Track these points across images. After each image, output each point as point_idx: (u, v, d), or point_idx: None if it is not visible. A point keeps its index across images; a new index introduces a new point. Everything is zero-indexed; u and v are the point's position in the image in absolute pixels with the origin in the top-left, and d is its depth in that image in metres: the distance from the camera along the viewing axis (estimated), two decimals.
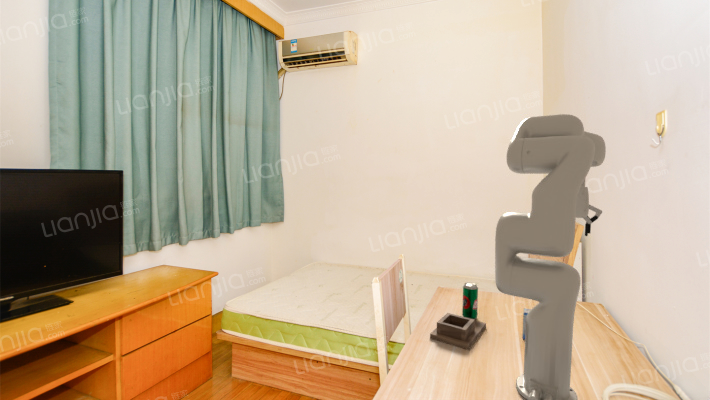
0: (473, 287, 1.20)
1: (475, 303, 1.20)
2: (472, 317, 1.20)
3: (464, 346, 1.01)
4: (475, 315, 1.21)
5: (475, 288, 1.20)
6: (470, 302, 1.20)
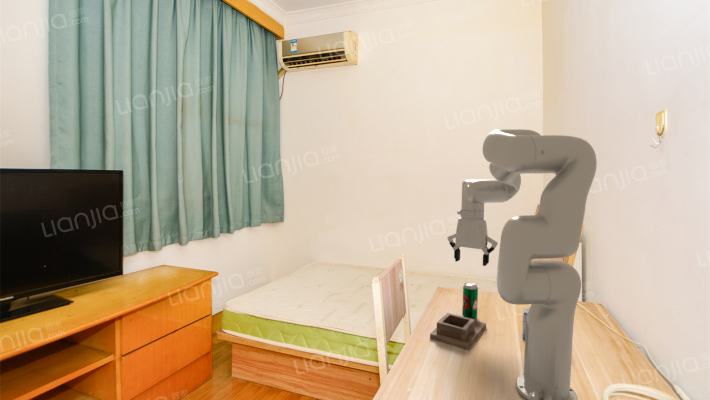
0: (473, 287, 1.20)
1: (475, 303, 1.20)
2: (472, 317, 1.20)
3: (464, 346, 1.01)
4: (475, 315, 1.21)
5: (475, 288, 1.20)
6: (470, 302, 1.20)
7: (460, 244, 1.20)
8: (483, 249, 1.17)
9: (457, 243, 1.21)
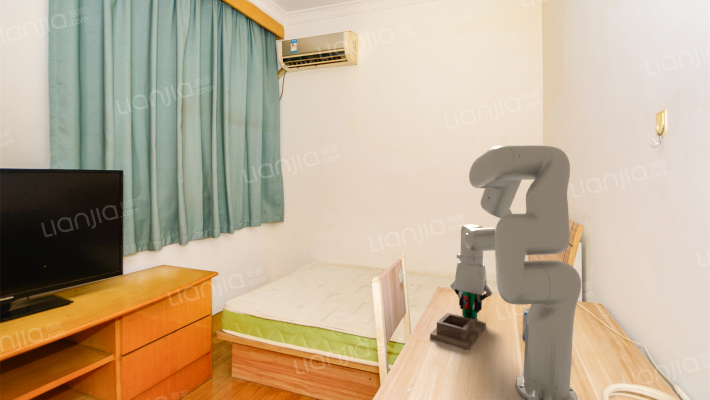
0: None
1: (475, 303, 1.20)
2: (472, 317, 1.20)
3: (464, 346, 1.01)
4: (475, 315, 1.21)
5: None
6: (470, 302, 1.20)
7: (459, 288, 1.22)
8: (477, 296, 1.19)
9: (456, 287, 1.22)
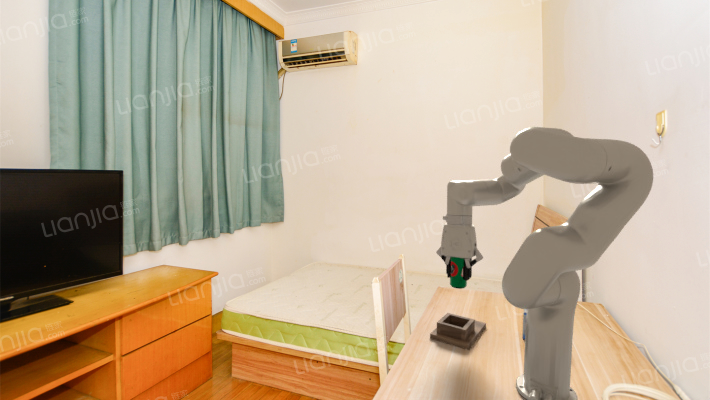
0: None
1: (464, 269, 1.05)
2: (461, 286, 1.05)
3: (464, 346, 1.01)
4: (464, 283, 1.06)
5: None
6: (458, 269, 1.05)
7: (446, 253, 1.07)
8: (466, 261, 1.04)
9: (443, 252, 1.07)
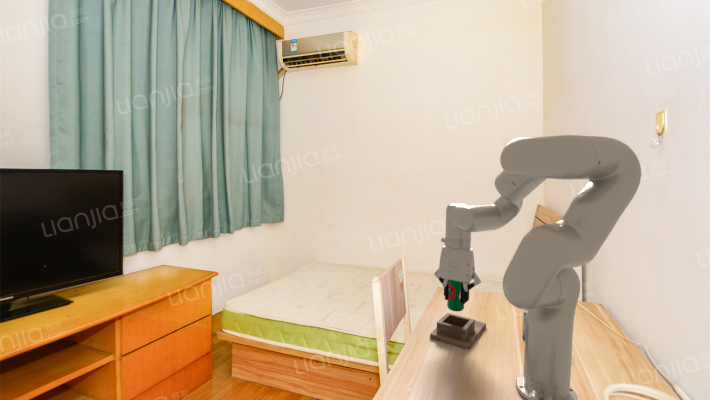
0: None
1: (461, 293, 1.05)
2: (458, 309, 1.06)
3: (464, 346, 1.01)
4: (461, 306, 1.06)
5: None
6: (456, 292, 1.05)
7: (444, 276, 1.07)
8: (464, 284, 1.04)
9: (441, 275, 1.07)
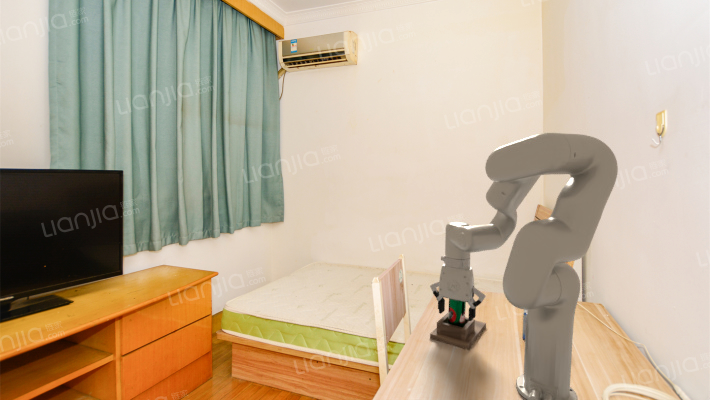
0: None
1: (462, 316, 1.06)
2: None
3: (464, 346, 1.01)
4: None
5: None
6: (457, 315, 1.06)
7: (444, 295, 1.07)
8: (469, 302, 1.04)
9: (440, 293, 1.08)
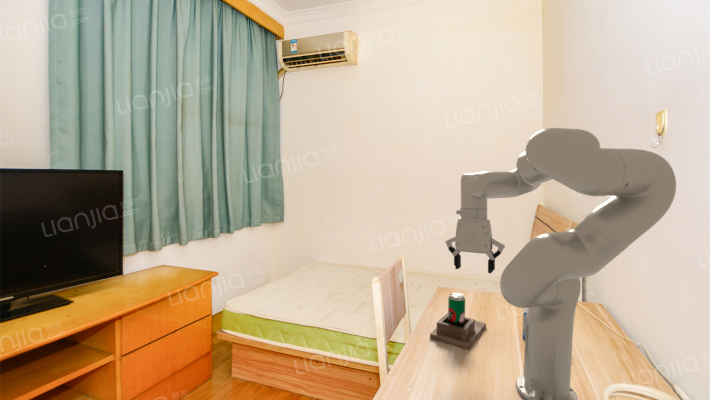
0: (459, 298, 1.05)
1: (462, 316, 1.06)
2: None
3: (464, 346, 1.01)
4: None
5: (462, 299, 1.05)
6: (456, 316, 1.06)
7: (461, 248, 1.03)
8: (488, 253, 1.00)
9: (457, 247, 1.04)
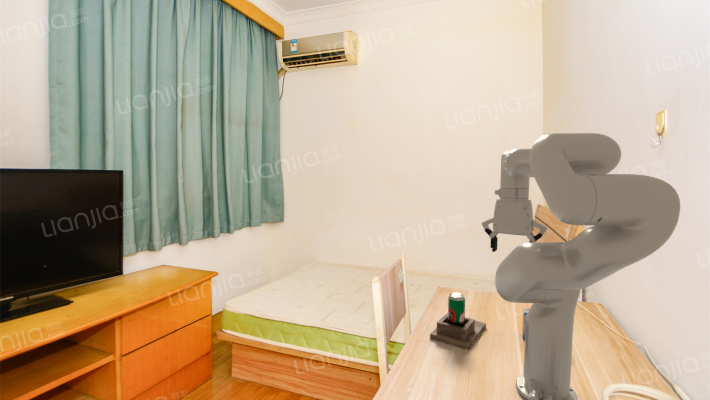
0: (459, 298, 1.05)
1: (462, 316, 1.06)
2: None
3: (464, 346, 1.01)
4: None
5: (462, 299, 1.06)
6: (456, 316, 1.06)
7: (499, 230, 0.99)
8: (528, 236, 0.96)
9: (495, 229, 1.00)
